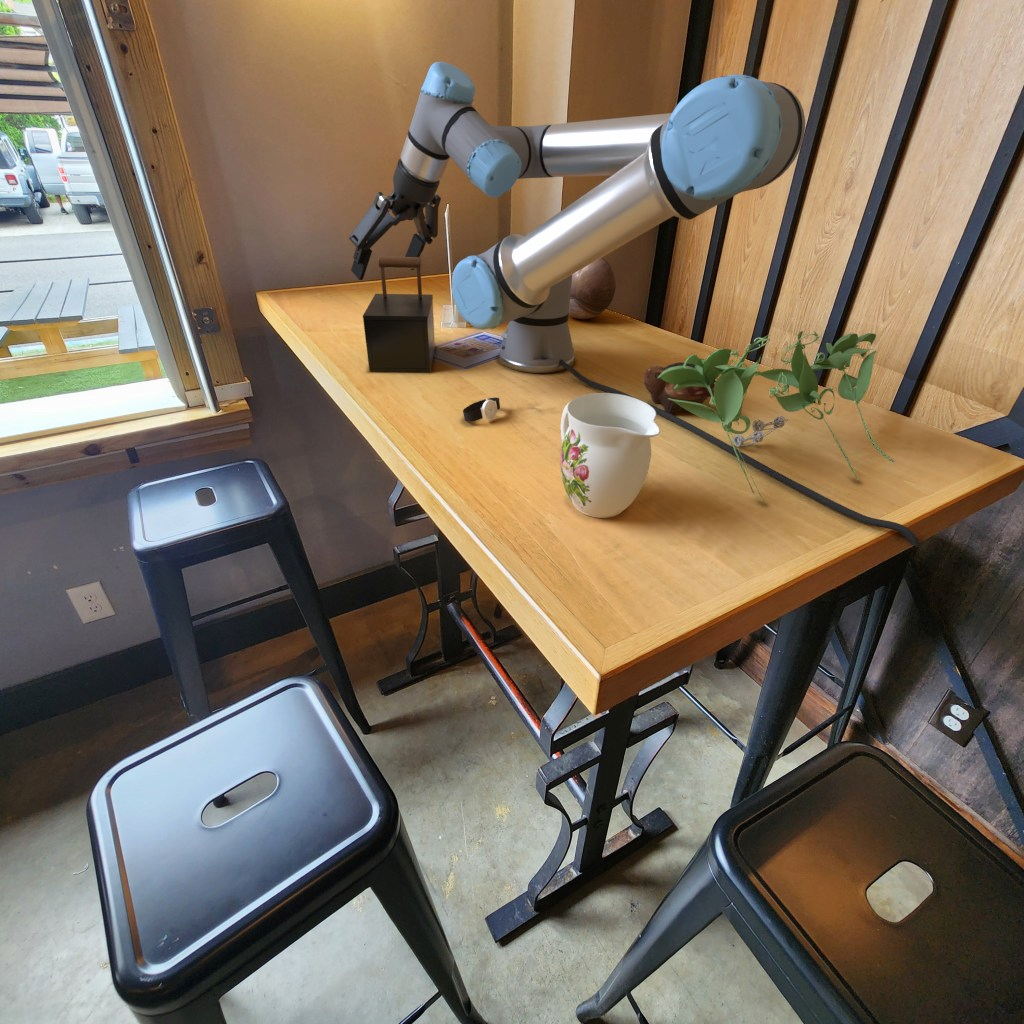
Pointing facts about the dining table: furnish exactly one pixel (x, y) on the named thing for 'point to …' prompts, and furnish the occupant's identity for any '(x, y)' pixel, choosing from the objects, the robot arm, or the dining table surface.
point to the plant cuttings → (802, 376)
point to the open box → (400, 344)
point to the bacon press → (399, 296)
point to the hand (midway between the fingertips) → (383, 270)
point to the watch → (482, 410)
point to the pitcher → (605, 451)
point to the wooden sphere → (592, 290)
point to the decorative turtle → (664, 390)
